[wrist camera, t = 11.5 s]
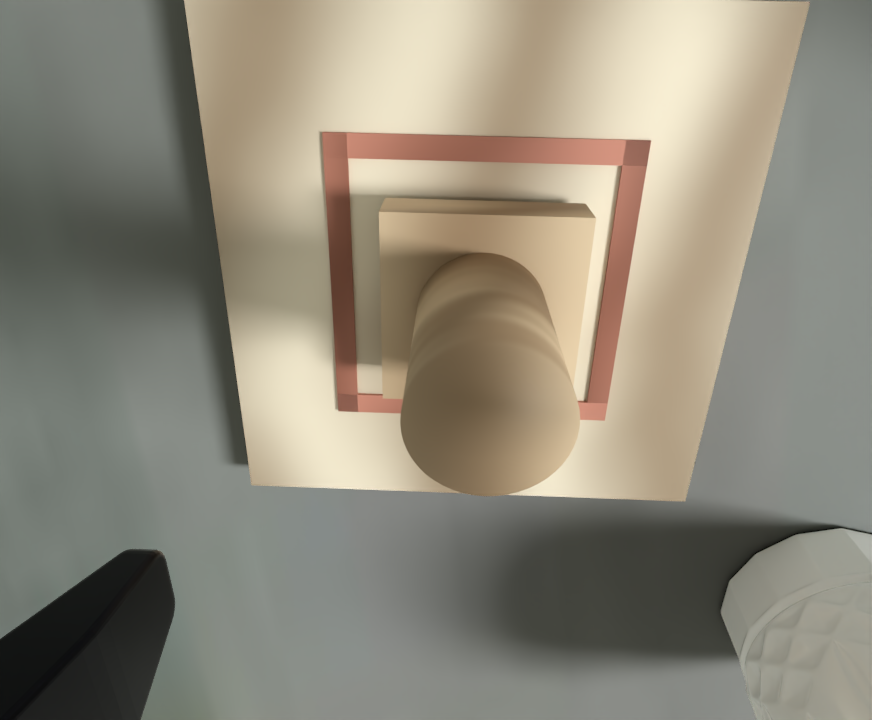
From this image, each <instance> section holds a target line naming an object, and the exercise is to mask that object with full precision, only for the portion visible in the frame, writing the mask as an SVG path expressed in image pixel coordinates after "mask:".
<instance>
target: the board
mask: <svg viewBox="0 0 872 720" xmlns="http://www.w3.org/2000/svg"><path fill="white" fill-rule="evenodd" d="M184 4H185V11H186V18H187V25H188V32H189V40H190V47H191V54H192V61H193V68H194V75H195V83H196V90H197V97H198V104H199V111H200V119H201V126H202V133H203V140H204V147H205V154H206V162H207V169H208V176H209V183H210V190H211V198H212V205H213V212H214V219H215V226H216V234H217V241H218V248H219V255H220V262H221V269H222V277H223V284H224V291H225V298H226V305H227V313H228V320H229V327H230V334H231V341H232V348H233V356H234V363H235V370H236V377H237V384H238V392H239V399H240V406H241V413H242V420H243V428H244V435H245V442H246V449H247V456H248V463H249V471H250V478H251V485H260V486H287V487H313V488H340V489H367V490H393V491H420V492H447V493H461V492H458V491H455V490H452V489H450V488H447V487H445V486H443V485H441V484H439V483H438V482H436V481H434V480H433V479H432V478H430V477H429V476H428V475H426V474H425V473H424V472H423V471H422V470H421V469H420V468H419V467H418V466H417V465H416V463H415V462H414V461H413V460H412V458H411V456H410V455H409V453H408V451H407V449H406V447H405V444H404V442H403V438H402V434H401V426H400V418H401V408H402V402H403V399H385V398H383V392H382V343H381V294H380V244H379V210H380V208H381V206H382V204H383V201H384V199H385V198H409V199H444V200H479V201H514V202H549V203H584V204H586V205H587V206H588V207H589V209H590V210H591V212H592V213H593V214H594V216H595V217H596V223H595V231H594V238H593V246H592V253H591V260H590V268H589V275H588V282H587V290H586V297H585V304H584V312H583V319H582V326H581V334H580V341H579V349H578V356H577V363H576V371H575V378H574V385H573V388H574V391H575V394H576V397H577V401H578V405H579V410H580V429H579V433H578V438H577V440H576V443H575V445H574V448H573V450H572V451H571V453H570V455H569V457H568V458H567V459H566V461H565V462H564V463H563V464H562V466H561V467H560V468H559V469H558V470H557V471H556V472H554V473H553V474H552V475H551V476H549V477H548V478H547V479H545V480H544V481H542V482H540V483H539V484H537V485H535V486H533V487H530V488H528V489H525V490H523V491H520V492H516V493H512V494H507V495H526V496H553V497H580V498H606V499H633V500H660V501H685V500H686V496H687V492H688V488H689V484H690V480H691V476H692V472H693V468H694V464H695V460H696V456H697V452H698V448H699V444H700V440H701V436H702V432H703V428H704V424H705V420H706V416H707V412H708V408H709V404H710V400H711V396H712V392H713V388H714V384H715V380H716V376H717V372H718V368H719V364H720V360H721V356H722V352H723V348H724V344H725V340H726V336H727V332H728V328H729V324H730V320H731V316H732V312H733V308H734V304H735V300H736V296H737V292H738V288H739V284H740V280H741V276H742V272H743V268H744V264H745V260H746V256H747V252H748V248H749V244H750V240H751V236H752V232H753V228H754V224H755V220H756V216H757V212H758V208H759V204H760V200H761V196H762V192H763V188H764V184H765V180H766V176H767V172H768V168H769V164H770V160H771V156H772V152H773V148H774V144H775V140H776V136H777V132H778V128H779V124H780V120H781V116H782V112H783V108H784V104H785V100H786V96H787V92H788V88H789V84H790V80H791V76H792V72H793V68H794V64H795V60H796V56H797V52H798V48H799V44H800V40H801V36H802V32H803V28H804V24H805V20H806V16H807V12H808V8H809V4H810V2H798V1H751V0H184Z"/></svg>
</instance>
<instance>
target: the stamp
mask: <svg viewBox="0 0 872 720" xmlns="http://www.w3.org/2000/svg"><path fill="white" fill-rule="evenodd" d="M595 223H596V217H595V216H594V214H593V213H592V212H591V210H590V209H589V207H588V206H587V205H586V204H584V203H549V202H514V201H479V200H444V199H409V198H385V199H384V201H383V204H382V206H381V208H380V210H379V244H380V294H381V343H382V392H383V398H385V399H403V402H402V408H401V418H400V426H401V434H402V438H403V442H404V444H405V447H406V449H407V451H408V453H409V455H410V456H411V458H412V460H413V461H414V462H415V463H416V465H417V466H418V467H419V468H420V469H421V470H422V471H423V472H424V473H425V474H426V475H428V476H429V477H430V478H432V479H433V480H434V481H436V482H438V483H439V484H441V485H443V486H445V487H447V488H450V489H452V490H455V491H458V492H461V493H466V494H471V495H478V496H499V495H507V494H512V493H516V492H520V491H523V490H525V489H528V488H530V487H533V486H535V485H537V484H539V483H540V482H542V481H544V480H545V479H547V478H548V477H549V476H551V475H552V474H553V473H554V472H556V471H557V470H558V469H559V468H560V467H561V466H562V464H563V463H564V462H565V461H566V459H567V458H568V457H569V455H570V453H571V451H572V450H573V448H574V445H575V443H576V440H577V438H578V433H579V429H580V410H579V405H578V401H577V397H576V394H575V391H574V388H573V385H574V378H575V371H576V363H577V356H578V349H579V341H580V334H581V326H582V319H583V312H584V304H585V297H586V290H587V282H588V275H589V268H590V260H591V253H592V246H593V238H594V231H595Z"/></svg>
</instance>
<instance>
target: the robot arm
mask: <svg viewBox="0 0 872 720" xmlns="http://www.w3.org/2000/svg"><path fill="white" fill-rule="evenodd" d="M174 610H175V598H174V592H173V588H172V584H171V580H170V575H169V571H168V567H167V562H166V559H165V556H164V555H163V553H162V552H161V551H158V550H147V549H129V550H126V551H124V552H122V553H120V554H119V555H117V556H116V557H114V558H113V559H112V560H110V561H109V562H107V563H106V564H105V565H103V566H102V567H100V568H99V569H98V570H96V571H95V572H93V573H92V574H91V575H89V576H88V577H86V578H85V579H84V580H82V581H81V582H79V583H78V584H77V585H75V586H74V587H72V588H71V589H70V590H68V591H67V592H65V593H64V594H63V595H61V596H60V597H58V598H57V599H56V600H54V601H53V602H51V603H50V604H49V605H47V606H46V607H44V608H43V609H42V610H40V611H39V612H37V613H36V614H35V615H33V616H32V617H30V618H29V619H28V620H26V621H25V622H23V623H22V624H20V625H19V626H18V627H16V628H15V629H13V630H12V631H11V632H9V633H8V634H6V635H5V636H4V637H2V638H1V639H0V720H141V717H142V714H143V711H144V708H145V705H146V702H147V698H148V695H149V692H150V689H151V686H152V683H153V679H154V676H155V673H156V670H157V667H158V664H159V661H160V657H161V654H162V651H163V648H164V645H165V642H166V639H167V635H168V632H169V629H170V626H171V623H172V619H173V616H174Z"/></svg>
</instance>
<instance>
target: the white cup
mask: <svg viewBox="0 0 872 720" xmlns="http://www.w3.org/2000/svg"><path fill="white" fill-rule="evenodd" d="M721 615H722V618H723V621H724V623H725V626H726V628H727V631H728V633H729V636H730V639H731V641H732V644H733V646H734V649H735V651H736V654H737V656H738V659H739V661H740V665H741V669H742V673H743V675H744V678H745V684H746V693H747V695H748V698H749V700H750V702H751V705H752V707H753V710H754V713H755V717H756V720H872V534H867V533H862V532H857V531H853V530H848V529H843V528H839V529H831V530H824V531H816V532H809V533H802V534H796V535H794V536H791V537H789V538H787V539H785V540H783V541H781V542H779V543H777V544H775V545H773V546H770V547H768V548H766V549H764V550H762V551H760V552H758V553H756V554H755V555H754V556H753V557H752V558H751V559H750V560H749V561H748V562H747V563H746V564H745V565H744V566H743V567H742V568H741V569H740V570H739V571H738V572H737V573H736V574H735V576H734V577H733V578H732V579H731V580H730V581H729V583H728V587H727V590H726V594H725V597H724V601H723V604H722V608H721Z"/></svg>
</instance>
